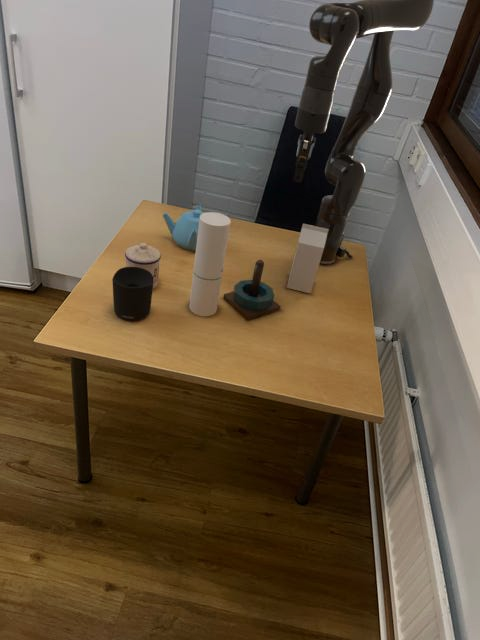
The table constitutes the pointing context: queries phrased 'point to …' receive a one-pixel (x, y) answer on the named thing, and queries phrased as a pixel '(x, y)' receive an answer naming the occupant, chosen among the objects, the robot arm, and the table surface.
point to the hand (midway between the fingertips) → (298, 176)
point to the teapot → (185, 228)
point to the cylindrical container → (209, 263)
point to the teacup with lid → (144, 259)
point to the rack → (253, 292)
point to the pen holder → (132, 293)
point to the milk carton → (307, 258)
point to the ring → (250, 301)
